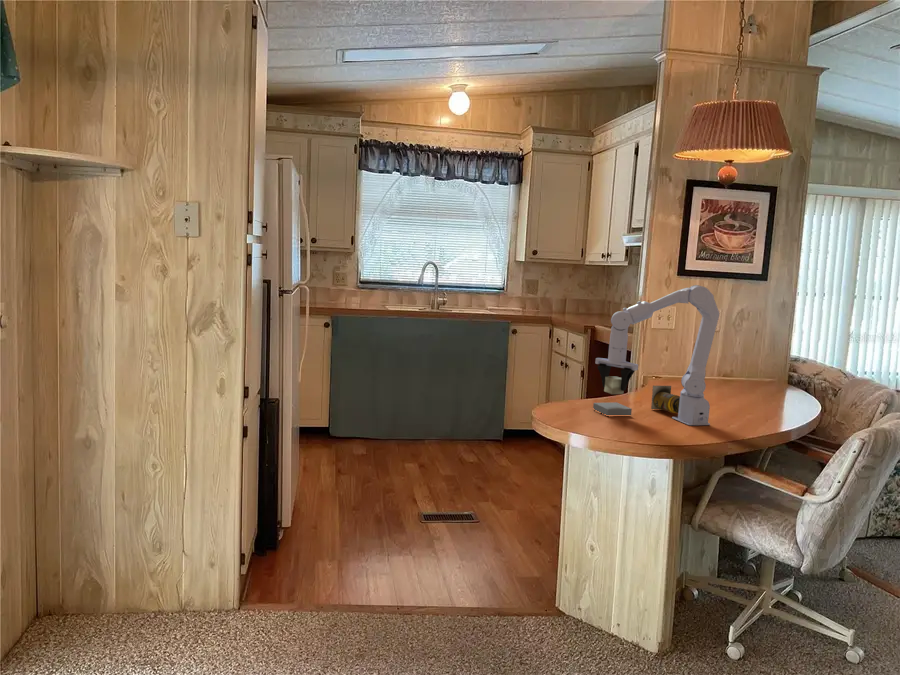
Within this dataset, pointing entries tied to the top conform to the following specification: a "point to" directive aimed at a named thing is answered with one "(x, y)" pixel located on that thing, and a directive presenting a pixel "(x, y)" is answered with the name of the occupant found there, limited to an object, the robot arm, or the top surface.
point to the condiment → (664, 399)
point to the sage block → (613, 385)
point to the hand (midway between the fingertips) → (614, 388)
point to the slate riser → (612, 408)
